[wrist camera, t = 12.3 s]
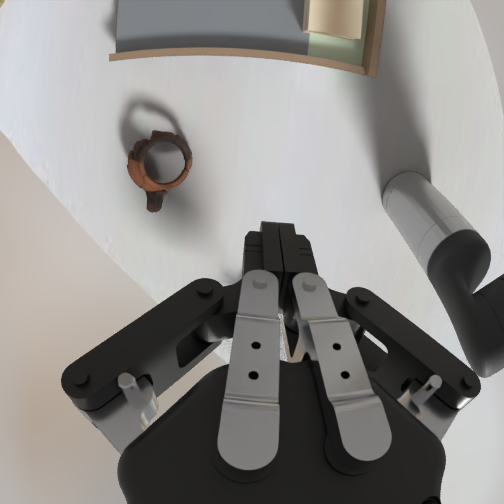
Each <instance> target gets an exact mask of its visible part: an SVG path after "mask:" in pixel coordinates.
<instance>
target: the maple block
mask: <svg viewBox="0 0 504 504" xmlns="http://www.w3.org/2000/svg"><path fill="white" fill-rule="evenodd" d="M362 15H363V0H304V15H303V30H302V32H305V33H312V34H319V35H326V36H332V37H338V38H343V39H348V40H354V39H361V28H362Z"/></svg>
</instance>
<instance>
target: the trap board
mask: <svg viewBox="0 0 504 504" xmlns="http://www.w3.org/2000/svg"><path fill="white" fill-rule="evenodd" d="M385 5H386V0H363V15H362V28H361V39H354V40H348V39H343V38H338V37H332V36H326V35H319V34H312V33H305V32H302V30H303V15H304V0H119V1H118V13H117V30H116V53H114V54H109V61H117V60H125V59H135V58H146V57H161V56H187V55H213V56H239V57H254V58H266V59H276V60H284V61H292V62H299V63H306V64H312V65H318V66H324V67H330V68H335V69H340V70H345V71H349V72H354V73H358V74H362V75H366V76H370V77H374V78H376V73H377V67H378V61H379V54H380V47H381V40H382V32H383V24H384V15H385Z"/></svg>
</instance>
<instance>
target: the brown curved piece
mask: <svg viewBox="0 0 504 504" xmlns="http://www.w3.org/2000/svg"><path fill="white" fill-rule="evenodd" d="M162 141H167V142H171V143H174V144H175V145H177V146H178V147H179V148H180V149H181V151H182V153H183V155H184V160H185V167H184V169H183V170H182V172H181V174H180V175H179V176H178V177H177V178H176V179H175V180H173V181H171V182H169V183H158V182H155V181H154V180H152V179H151V178H150V177H149V176H148V175H147V173H146V170H145V167H144V159H145V155H146V153H147V151H148V150H149V149H150V148H151V147H152V146H153V145H154V144H156V143H158V142H162ZM133 148H134V149H135V152H136V155H137V158H138V160H133V153H134V151H130V152H129V155H128V165H127V168H128V172H129V175H130V177H131V179H132V180H133V181H134V182H135V184H136V185H137V186H139V187H140V188H142V189H143V190H145V192H146V195H147V210H148V211H149V212H158V211H159V210H160V209H161V206H162V202H163V197H164V195H165V194H166V193H167V191H166V190H165V189H168V190H170V189H172V188H173V187H175V186H177V185H179V184H180V183H181V182H182V181H183V180H184V179H185V178H186V176H187V175H188V172H189V169H190V168H191V166H192V156H191V155H192V152H191V150H190V148H189V146H188V145H187V143H186V142H185V141H184V140H183V139H182V138H181V137H180V136H178V135H174V134H173V133H171V132H161V131H155V130H153V131H152V136H151V139H150V140H147V139H143V140H141V141H137V142H136V143H135V145H134V147H133Z"/></svg>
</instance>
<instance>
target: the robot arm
mask: <svg viewBox="0 0 504 504" xmlns="http://www.w3.org/2000/svg"><path fill="white" fill-rule="evenodd" d="M383 207H384V209H385V211H386V213H387V214H388V216H389V217H390V218H391V220H392V221H393V223H394V225H395V226H396V227H397V229H398V230H399V232H400V233H401V235H402V236H403V238H404V240H405V241H406V243H407V244H408V246H409V247H410V249H411V250H412V252H413V254H414V255H415V257H416V258H417V260H418V262H419V263H420V265H421V266H422V268H423V270H424V271H425V273H426V275H427V277H428V278H429V280H430V282H431V283H432V285H433V287H434V289H435V290H436V292H437V294H438V296H439V298H440V300H441V301H442V303H443V305H444V307H445V309H446V311H447V313H448V315H449V317H450V320H451V322H452V324H453V326H454V329H455V331H456V334H457V336H458V339H459V341H460V344H461V346H462V349H463V351H464V354H465V356H466V358H467V360H468V362H469V364H470V366H471V368H472V369H473V371H472V370H471V369H470V368H469V367H468V366H467V365H465V364H464V363H463V362H462V361H460V360H459V359H458V358H457V357H455V356H454V355H453V354H452V353H450V352H449V351H448V350H447V349H445V348H444V347H443V346H442V345H440V344H439V343H438V342H437V341H435V340H434V339H433V338H432V337H430V336H429V335H428V334H426V333H425V332H424V331H423V330H421V329H420V328H419V327H417V326H416V325H415V324H414V323H412V322H411V321H410V320H408V319H407V318H406V317H404V316H403V315H402V314H401V313H399V312H398V311H397V310H395V309H394V308H393V307H391V306H390V305H389V304H387V303H386V302H385V301H383V300H382V299H381V298H379V297H378V296H377V295H375V294H374V293H373V292H371V291H370V290H368V289H365V288H362V287H354V288H351V289H350V290H348V292H347V294H344V293H340V292H337V291H334V290H331V289H329V288H328V287H327V284H326V282H325V281H324V280H323V279H322V278H321V277H320V276H318V272H317V268H316V264H315V260H314V256H313V252H312V248H311V244H310V241H309V240H308V239H307V238H306V237H305V236H304V235H298V234H296V232H295V227H294V224H291V223H279V222H278V223H277V222H265V221H261V226H260V232H257V231H249V232H248V234H247V235H246V236H245V242H244V253H243V268H242V279H241V280H240V281H238V282H237V283H235V284H233V285H229V286H224V287H223V286H222V285H221V284H220V283H219V282H218V281H216V280H213V279H209V278H202V279H197V280H194V281H193V282H191V283H190V284H188V285H187V286H185V287H184V288H182V289H181V290H179V291H178V292H176V293H175V294H173V295H172V296H170V297H169V298H167V299H166V300H164V301H163V302H161V303H160V304H158V305H157V306H155V307H154V308H152V309H151V310H150V311H148V312H146V313H145V314H144V315H142V316H141V317H139V318H138V319H136V320H135V321H133V322H132V323H130V324H129V325H127V326H126V327H124V328H123V329H121V330H120V331H119V332H117V333H116V334H114V335H113V336H111V337H110V338H108V339H107V340H106V341H104V342H102V343H101V344H100V345H98V346H96V347H95V348H94V349H92V350H91V351H89V352H88V353H86V354H85V355H83V356H82V357H80V358H79V359H78V360H76V361H75V362H73V363H72V364H70V365H69V366H68V367H67V368H66V369H65V370H64V372H63V374H62V378H61V383H62V388H63V390H64V391H65V392H66V394H67V395H68V396H69V397H70V399H71V400H72V402H73V404H74V405H75V406H76V407H77V409H78V410H79V411H80V412H81V413H82V414H83V415H84V416H85V418H87V419H88V420H89V421H90V422H91V423H92V424H93V425H94V426H95V427H96V428H98V429H99V430H100V431H101V432H102V433H103V435H104V436H105V437H106V438H107V439H108V441H109V442H110V443H111V444H112V445H113V446H114V447H115V448H116V450H117V451H118V452H119V453H120V454H121V457H120V459H119V463H118V472H117V473H118V481H119V484H120V487H121V489H122V491H123V494H124V496H125V498H126V501H127V504H441V501H440V490H441V483H442V477H443V474H444V470H445V465H446V455H445V450H444V447H443V445H442V443H441V440H442V438H443V437H444V435H445V433H446V432H447V430H448V428H449V427H450V425H451V423H452V422H453V420H454V418H455V416H456V415H457V413H458V412H459V411H460V410H461V409H462V408H464V407H465V406H466V405H467V404H468V403H469V402H470V401H472V400H473V399H474V398H475V397H476V396H477V395H478V394H479V392H480V389H481V384H480V380H479V378H478V376H480V377H483V378H486V377H489V376H491V375H493V374H494V373H497V372H498V371H500V370H501V369H503V368H504V274H503V275H501V276H500V277H498V278H497V279H495V280H494V281H492V282H491V283H489V284H488V285H486V286H485V287H483V288H481V289H480V290H478V291H477V292H475V293H474V294H473V292H474V291H475V289H476V288H477V287H478V285H479V284H480V283H481V281H482V280H483V279H484V277H485V275H486V273H487V271H488V269H489V266H490V261H491V252H490V249H489V246H488V244H487V243H486V242H485V240H484V239H483V238H482V237H481V236H480V234H479V233H478V232H477V231H476V230H475V229H474V228H473V227H472V225H471V224H470V223H469V222H468V221H467V220H466V219H465V218H464V217H463V216H462V215H461V214H460V213H459V211H458V210H457V209H456V208H455V207H454V206H453V205H452V204H451V203H450V202H449V201H448V200H447V199H446V198H445V197H444V196H443V195H442V194H441V193H440V192H439V191H438V190H437V189H436V188H435V187H434V186H433V185H432V184H430V183H429V182H428V181H427V180H426V179H425V178H424V177H423V176H422V175H420V174H418V173H416V172H404V173H401V174H399V175H397V176H395V177H394V178H393V179H392V180H391V181H390V182H389V183H388V185H387V186H386V188H385V190H384V193H383ZM278 313H283V316H284V320H283V324H282V332H283V338H284V343H285V349H286V354H287V360H288V362H286V361H282V360H279V359H280V319H278ZM366 330H367V331H368V332H369V333H370V334H372V335H373V336H374V337H375V338H376V339H378V340H379V341H380V342H381V343H383V344H384V345H385V346H386V348H387V350H388V353H386V352H384V351H383V350H382V349H381V348H380V347H378V346H377V345H376V344H375V343H374V342H372V341H371V340H370V339H369V338H367V337H366V336H365V335H364V333H365V331H366ZM229 338H233V342H232V348H231V355H230V362H229V364H227V365H224V366H221V367H219V368H216V369H214V370H212V371H211V372H209V373H208V374H206V375H205V376H204V377H203V378H202V379H201V380H200V381H199V382H197V383H196V384H195V385H194V386H193V387H192V388H191V389H190V390H189V391H188V392H187V393H186V394H185V395H184V396H182V397H181V398H180V399H179V400H178V401H177V402H176V403H175V404H174V405H173V406H172V407H170V408H169V409H168V410H167V411H166V412H165V413H164V414H163V415H162V416H161V417H159V419H157V420H156V421H155V422H154V423H153V424H152V425H150V426H149V427H148V425H149V423H150V421H151V420H152V419H153V418H154V417H155V415H156V414H157V411H158V401H157V397H158V396H159V395H161V394H162V393H163V392H164V391H165V390H167V389H168V388H169V387H170V386H172V385H173V384H174V383H175V382H176V381H178V380H179V379H180V378H181V377H182V376H183V375H185V374H186V373H187V372H188V371H190V370H191V369H192V368H193V367H194V366H195V365H197V364H198V363H199V362H200V361H201V360H203V359H204V358H205V357H206V356H207V355H208V354H209V353H211V352H212V351H213V350H214V349H215V348H217V347H218V346H219V345H220V344H221V342H222V340H224V339H229ZM477 375H478V376H477Z"/></svg>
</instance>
